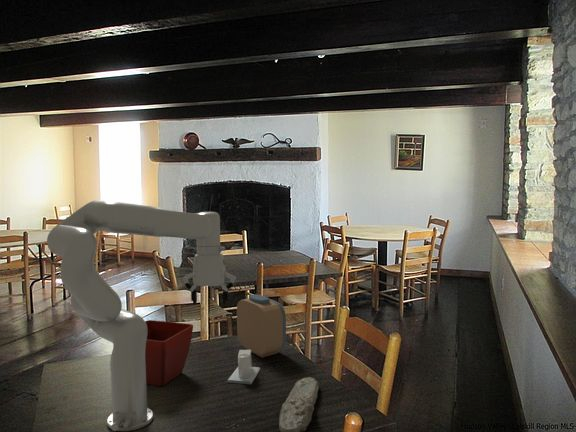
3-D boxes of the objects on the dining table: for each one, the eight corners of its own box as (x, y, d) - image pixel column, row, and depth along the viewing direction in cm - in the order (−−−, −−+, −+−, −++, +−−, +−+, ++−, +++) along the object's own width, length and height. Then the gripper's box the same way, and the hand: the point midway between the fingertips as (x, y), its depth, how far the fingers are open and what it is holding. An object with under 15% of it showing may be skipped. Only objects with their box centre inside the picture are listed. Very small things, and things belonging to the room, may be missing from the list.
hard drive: (250, 381, 170) (260, 366, 182) (227, 379, 171) (238, 365, 183) (250, 386, 170) (260, 371, 182) (227, 384, 172) (238, 369, 184)
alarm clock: (286, 355, 195) (286, 300, 192) (266, 361, 189) (265, 304, 187) (257, 341, 211) (256, 289, 209) (237, 346, 205) (236, 293, 203)
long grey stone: (324, 389, 169) (294, 388, 171) (323, 373, 169) (294, 373, 171) (309, 439, 135) (272, 438, 137) (308, 420, 135) (271, 419, 136)
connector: (249, 378, 172) (249, 358, 172) (238, 378, 172) (237, 358, 172) (252, 365, 183) (251, 346, 183) (241, 365, 183) (240, 346, 183)
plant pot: (149, 363, 188) (148, 318, 187) (195, 370, 182) (194, 324, 180) (116, 384, 170) (114, 335, 169) (165, 392, 164) (164, 341, 162)
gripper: (236, 248, 167) (237, 299, 169) (184, 248, 167) (185, 299, 169) (234, 252, 160) (235, 305, 162) (179, 252, 160) (180, 306, 162)
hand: (209, 302), depth 165 cm, fingers open, 9 cm apart
